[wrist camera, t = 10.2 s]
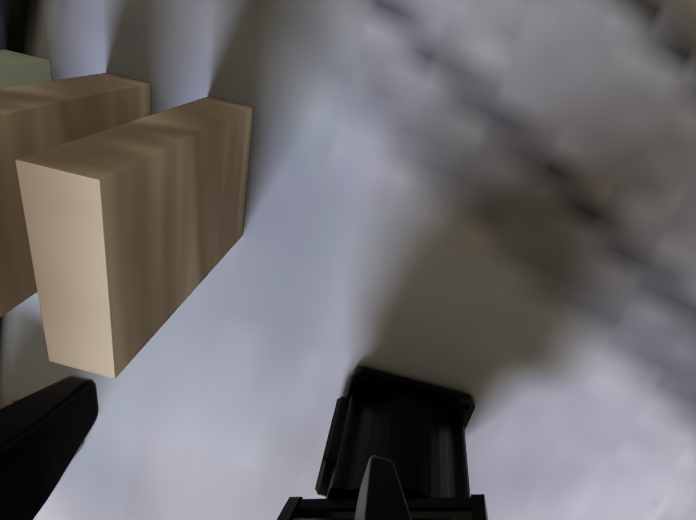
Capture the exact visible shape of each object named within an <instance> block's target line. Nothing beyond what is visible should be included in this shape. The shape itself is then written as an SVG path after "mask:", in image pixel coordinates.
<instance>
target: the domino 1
mask: <svg viewBox="0 0 696 520" xmlns="http://www.w3.org/2000/svg"><path fill="white" fill-rule="evenodd" d="M48 81H52V74H51V65H50V60H47V59H42V58H38V57H34V56H30V55H26V54H22V53H17V52H13V51H9V50H0V88H7V87H14V86H20V85H27V84H34V83H41V82H48Z"/></svg>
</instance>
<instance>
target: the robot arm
mask: <svg viewBox="0 0 696 520" xmlns="http://www.w3.org/2000/svg"><path fill="white" fill-rule="evenodd" d="M360 375H361V376H364V377H365V378H361V377H359V376H360ZM461 403H468V404H461ZM98 409H99V408H98V399H97V390H96V384H95V382H94V381H93V380H91V379H88V378H84V377H80V376H75V375H74V376H69V377H67V378H64V379H62V380H60V381H58V382H56V383H54V384H52V385H50V386H47V387H45V388H43V389H41V390H39V391H37V392H35V393H33V394H30V395H28V396H26V397H24V398H22V399H20V400H18V401H16V402H13V403H11V404H9V405H7V406H5V407H3V408H1V409H0V520H33V519H34V517H35V516H36V515H37V513H38V512H39V511H40V509H41V508H42V506H43V505H44V504H45V502H46V501H47V499H48V498H49V496H50V495H51V493H52V492H53V490H54V488H55V487H56V485H57V484H58V482H59V480H60V479H61V477H62V475H63V474H64V472H65V471H66V469H67V467H68V466H69V464H70V462H71V461H72V459H73V457H74V456H75V454H76V452H77V451H78V449H79V448H80V446H81V444H82V443H83V441H84V439H85V438H86V436H87V434H88V433H89V431H90V429H91V428H92V426H93V424H94V423H95V421H96V418H97V416H98ZM474 409H475V402H474V398H473V397H472V396H471V395H469V394H466V393H462V392H458V391H454V390H450V389H447V388H443V387H439V386H435V385H431V384H427V383H424V382H420V381H416V380H412V379H408V378H404V377H401V376H397V375H393V374H389V373H385V372H381V371H378V370H374V369H370V368H366V367H357V368H356V369H355V370H354V372H353V375H352V379H351V383H350V387H349V390H348V394H347V398H346V397H340V398H339V399H337V403H336V407H335V411H334V415H333V419H332V423H331V427H330V431H329V435H328V439H327V443H326V447H325V451H324V455H323V459H322V463H321V467H320V471H319V475H318V479H317V483H316V487H315V490H316V492H317V494H318V495H322V496H325V497H326V498H325V499H303V498H302V497H290V498H289V499H288V501H287V503H286V504H285V506H284V508H283V510H282V511H281V513H280V515H279V517H278V518H277V520H488V515H487V509H486V503H485V497H484V494H480V495H471V497H470V489H469V477H468V465H467V453H466V441H465V428H466V426H467V424H468V422H469V420H470V418H471V415H472V413H473V411H474Z"/></svg>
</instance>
